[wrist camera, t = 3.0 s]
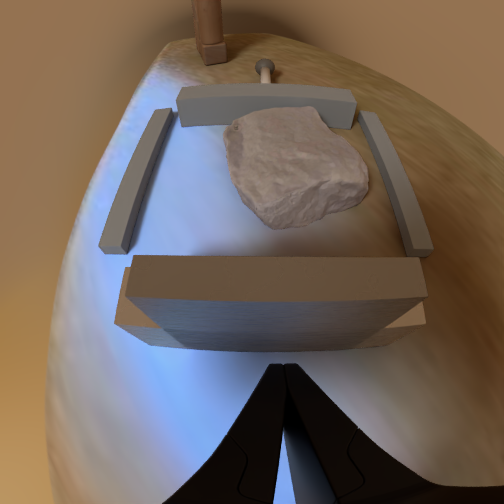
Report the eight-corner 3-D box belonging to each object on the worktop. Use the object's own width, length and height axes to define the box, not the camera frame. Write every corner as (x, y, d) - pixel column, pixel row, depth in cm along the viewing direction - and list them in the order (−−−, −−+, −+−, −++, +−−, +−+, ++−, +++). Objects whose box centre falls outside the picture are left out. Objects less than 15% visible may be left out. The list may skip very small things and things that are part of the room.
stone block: (264, 254, 22) (374, 204, 21) (250, 219, 17) (382, 164, 17) (220, 161, 28) (307, 126, 27) (205, 125, 23) (303, 89, 23)
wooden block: (216, 46, 42) (209, -35, 26) (228, 62, 36) (221, -38, 21) (196, 49, 41) (187, -32, 25) (205, 66, 36) (194, -35, 20)
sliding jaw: (386, 345, 16) (475, 291, 8) (149, 345, 16) (67, 290, 8) (380, 302, 17) (454, 226, 9) (155, 301, 18) (88, 221, 10)
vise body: (426, 256, 19) (449, 232, 16) (105, 254, 19) (83, 228, 16) (350, 81, 33) (354, 62, 30) (177, 79, 34) (174, 59, 31)
